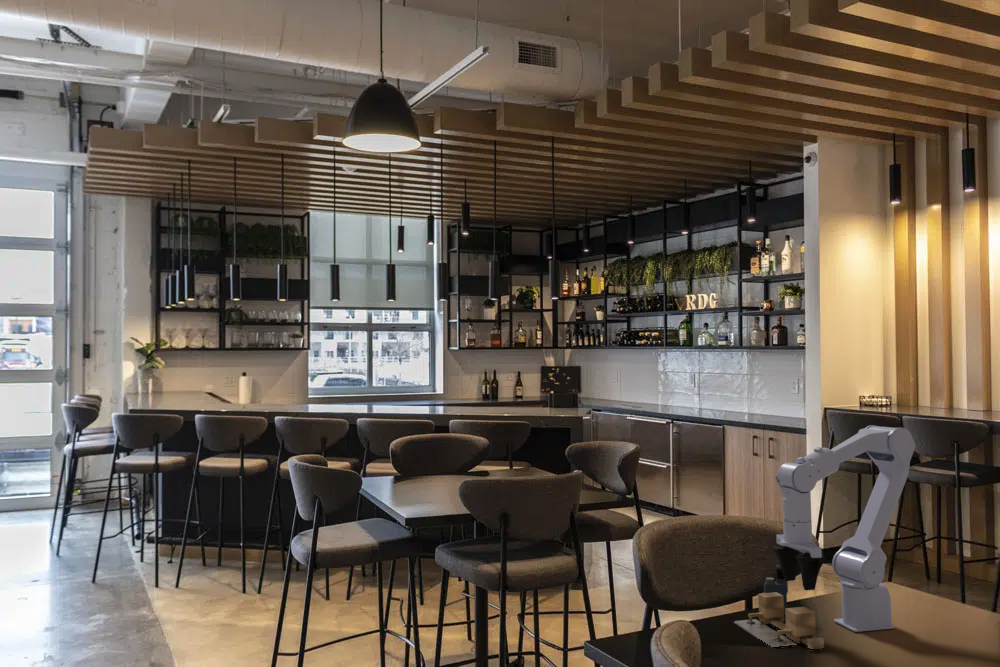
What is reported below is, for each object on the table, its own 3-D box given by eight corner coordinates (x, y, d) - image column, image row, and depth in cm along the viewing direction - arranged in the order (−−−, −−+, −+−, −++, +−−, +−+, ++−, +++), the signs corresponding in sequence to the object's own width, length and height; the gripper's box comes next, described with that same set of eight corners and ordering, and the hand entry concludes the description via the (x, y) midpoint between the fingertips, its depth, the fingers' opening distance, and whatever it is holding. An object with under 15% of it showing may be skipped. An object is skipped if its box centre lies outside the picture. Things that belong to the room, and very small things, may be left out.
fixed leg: (777, 619, 185) (776, 592, 185) (784, 623, 182) (783, 595, 182) (746, 621, 183) (744, 594, 184) (752, 626, 181) (751, 598, 181)
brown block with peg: (805, 635, 174) (804, 606, 174) (816, 641, 170) (815, 612, 170) (772, 638, 172) (771, 609, 172) (782, 644, 168) (781, 615, 168)
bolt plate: (755, 621, 184) (755, 618, 184) (796, 646, 168) (796, 643, 168) (734, 622, 183) (733, 620, 183) (772, 648, 167) (772, 645, 167)
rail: (769, 616, 187) (768, 607, 187) (824, 649, 166) (823, 638, 166) (756, 617, 187) (756, 608, 187) (810, 650, 165) (810, 640, 165)
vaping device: (789, 616, 187) (787, 563, 187) (765, 615, 188) (763, 562, 188) (788, 613, 189) (786, 560, 190) (764, 612, 190) (762, 559, 191)
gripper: (762, 515, 182) (764, 577, 181) (798, 527, 168) (800, 595, 167) (792, 513, 183) (794, 575, 183) (829, 525, 169) (832, 592, 168)
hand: (799, 584), depth 175 cm, fingers open, 7 cm apart
